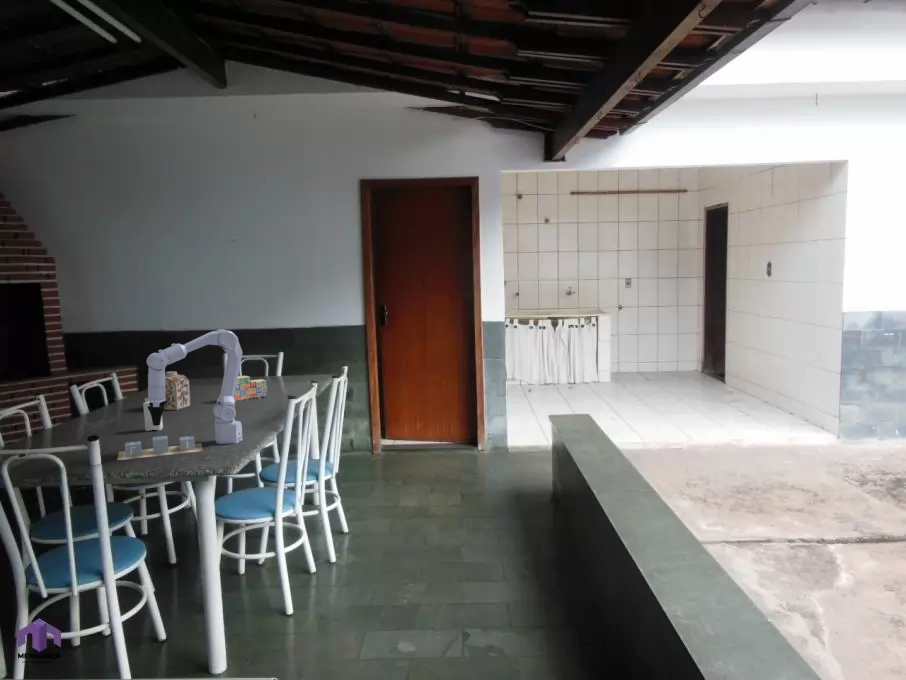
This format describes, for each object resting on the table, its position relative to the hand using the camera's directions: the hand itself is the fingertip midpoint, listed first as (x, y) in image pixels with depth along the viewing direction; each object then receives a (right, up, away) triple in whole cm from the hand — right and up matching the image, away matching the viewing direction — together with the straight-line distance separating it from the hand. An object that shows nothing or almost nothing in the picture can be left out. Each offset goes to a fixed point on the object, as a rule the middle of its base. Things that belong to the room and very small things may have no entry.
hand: (157, 423), depth 238 cm
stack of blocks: (-1, -1, +106) cm, 106 cm away
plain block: (+1, -10, +1) cm, 10 cm away
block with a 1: (+9, -10, +4) cm, 14 cm away
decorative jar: (-30, -3, +85) cm, 90 cm away
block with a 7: (-7, -11, -3) cm, 13 cm away
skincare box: (-19, -8, +39) cm, 44 cm away
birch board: (+1, -11, +1) cm, 11 cm away
